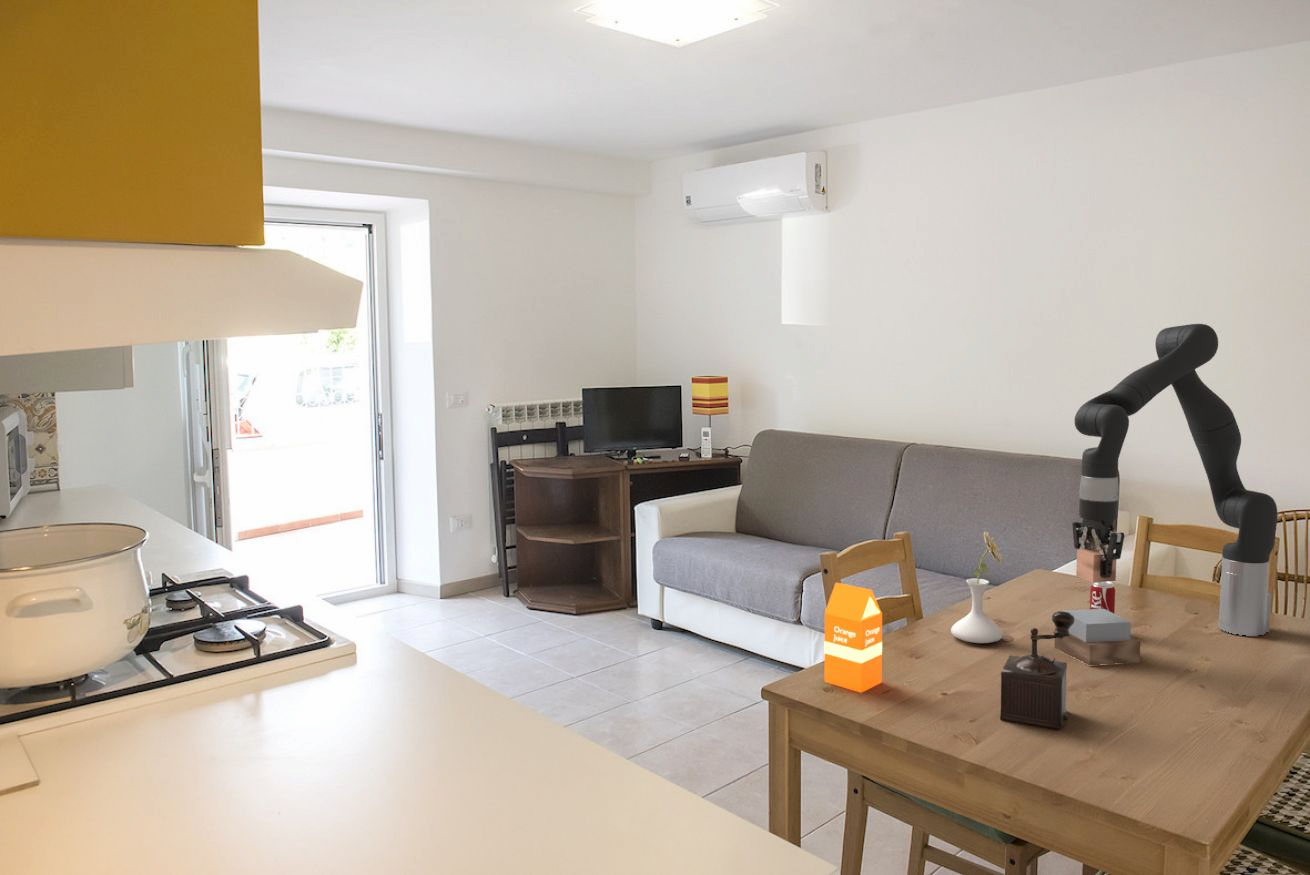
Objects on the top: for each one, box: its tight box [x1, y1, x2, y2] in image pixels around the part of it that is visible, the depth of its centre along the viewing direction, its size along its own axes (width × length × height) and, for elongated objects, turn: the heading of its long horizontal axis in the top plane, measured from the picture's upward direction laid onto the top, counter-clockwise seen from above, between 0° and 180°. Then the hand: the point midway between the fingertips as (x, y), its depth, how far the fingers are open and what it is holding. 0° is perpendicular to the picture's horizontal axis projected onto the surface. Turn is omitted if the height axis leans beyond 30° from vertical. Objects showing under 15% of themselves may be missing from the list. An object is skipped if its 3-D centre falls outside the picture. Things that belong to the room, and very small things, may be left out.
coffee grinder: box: [999, 610, 1074, 731], centre depth 170 cm, size 16×11×18 cm
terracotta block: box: [1075, 547, 1117, 584], centre depth 198 cm, size 6×6×6 cm
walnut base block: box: [1054, 627, 1141, 665], centre depth 200 cm, size 12×12×5 cm
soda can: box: [1089, 581, 1116, 614], centre depth 215 cm, size 5×5×12 cm
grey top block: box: [1061, 608, 1132, 642], centre depth 200 cm, size 10×10×4 cm
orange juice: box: [823, 582, 883, 694], centre depth 186 cm, size 8×9×20 cm
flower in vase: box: [950, 531, 1004, 644], centre depth 211 cm, size 13×11×25 cm
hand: (1095, 573), depth 199 cm, fingers closed on terracotta block, 5 cm apart
